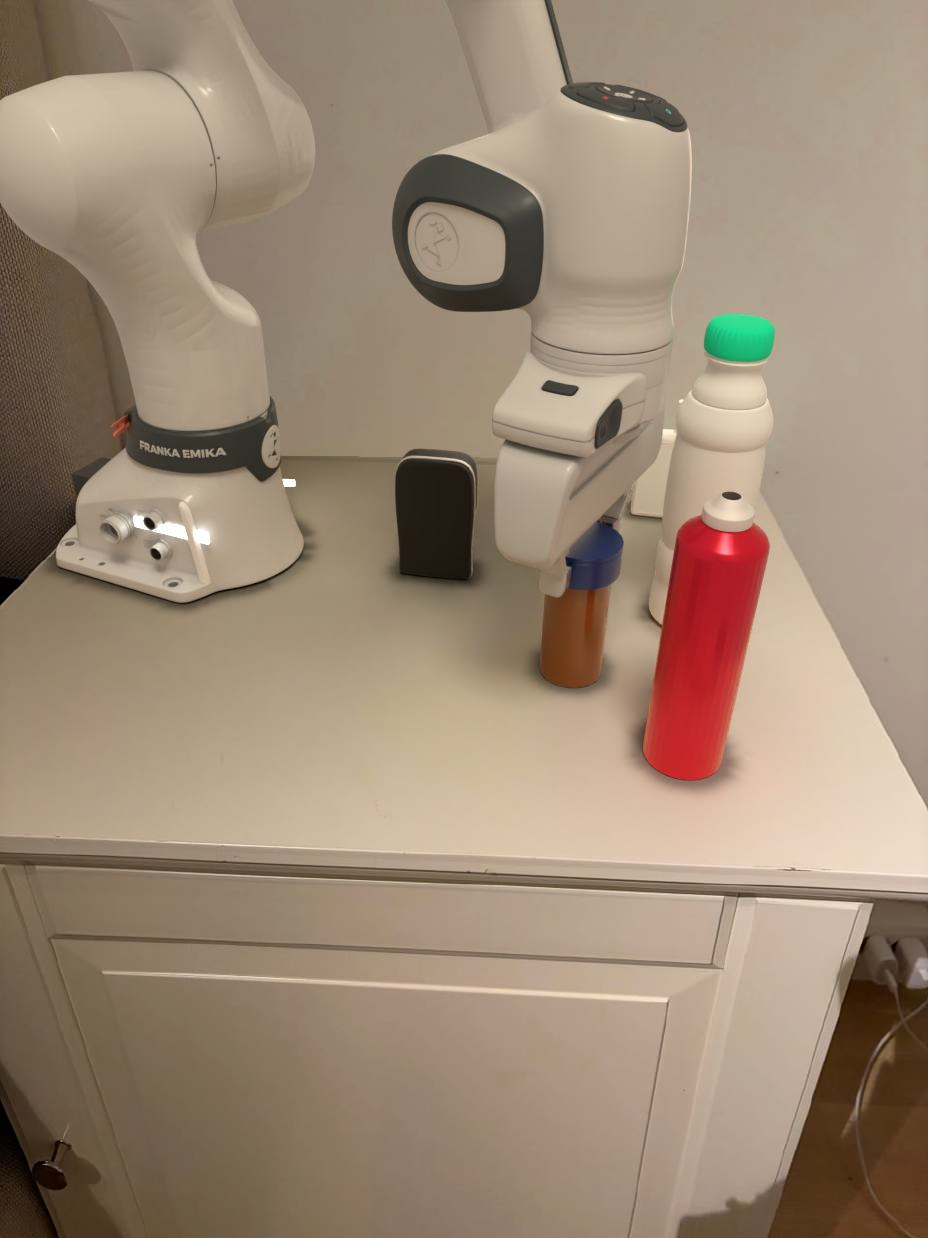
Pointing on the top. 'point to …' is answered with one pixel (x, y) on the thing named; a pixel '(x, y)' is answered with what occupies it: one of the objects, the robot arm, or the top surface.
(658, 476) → the white upright flat block
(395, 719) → the top surface
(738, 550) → the bottle
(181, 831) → the top surface
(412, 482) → the battery charger
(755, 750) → the top surface
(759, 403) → the water bottle
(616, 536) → the lid
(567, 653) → the jar
